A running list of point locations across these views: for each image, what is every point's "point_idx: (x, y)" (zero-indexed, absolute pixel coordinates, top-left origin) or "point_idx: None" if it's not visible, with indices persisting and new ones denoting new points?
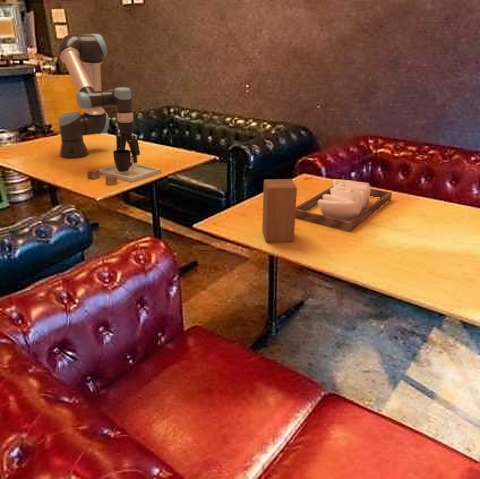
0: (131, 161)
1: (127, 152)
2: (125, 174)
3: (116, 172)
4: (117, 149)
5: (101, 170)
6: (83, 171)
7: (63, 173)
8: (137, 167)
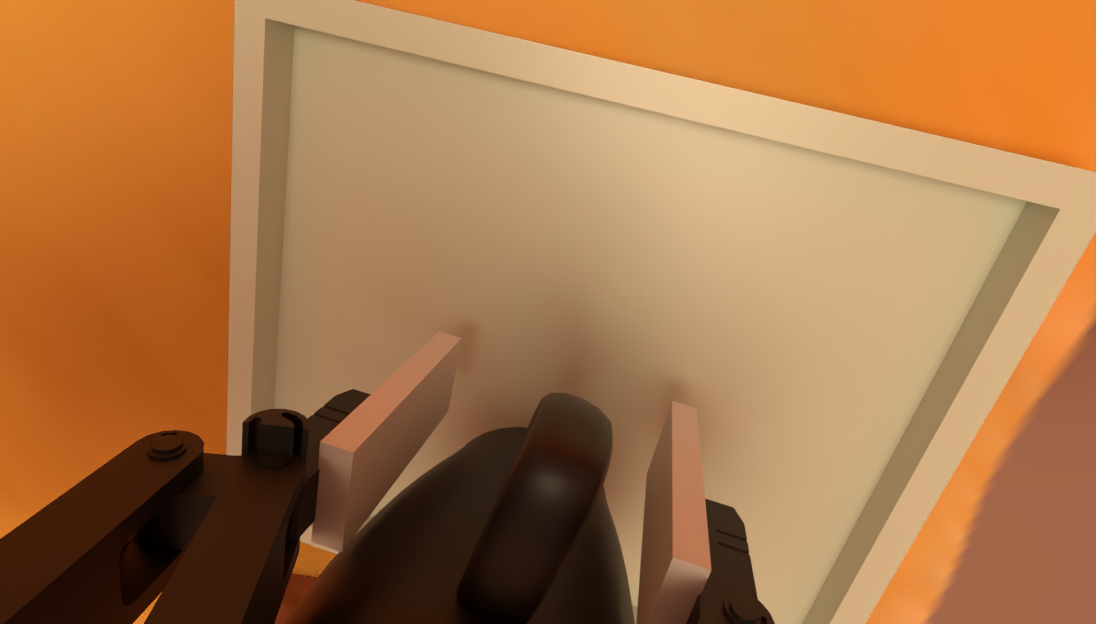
0: (640, 567)
1: (464, 612)
2: None
3: None
4: (145, 575)
5: None
6: (79, 454)
7: None
8: (524, 106)
